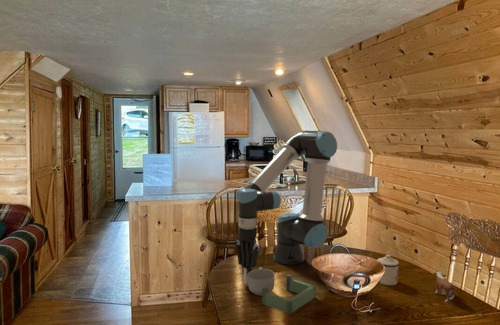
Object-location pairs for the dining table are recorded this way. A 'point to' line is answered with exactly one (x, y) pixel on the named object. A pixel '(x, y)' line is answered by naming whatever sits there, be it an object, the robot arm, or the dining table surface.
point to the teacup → (260, 280)
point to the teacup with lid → (389, 270)
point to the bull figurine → (444, 286)
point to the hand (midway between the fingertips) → (246, 282)
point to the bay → (292, 304)
